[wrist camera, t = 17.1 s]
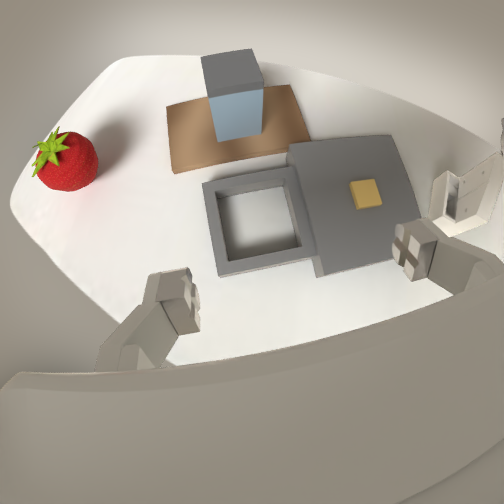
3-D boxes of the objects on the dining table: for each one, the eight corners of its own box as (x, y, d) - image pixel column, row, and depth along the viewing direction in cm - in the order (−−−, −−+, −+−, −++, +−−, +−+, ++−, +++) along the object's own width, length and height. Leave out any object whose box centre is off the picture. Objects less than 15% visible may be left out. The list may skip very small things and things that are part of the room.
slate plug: (252, 102, 28) (251, 48, 20) (261, 134, 27) (263, 80, 19) (211, 109, 27) (200, 57, 20) (217, 142, 27) (206, 90, 19)
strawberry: (104, 213, 27) (48, 177, 17) (58, 198, 27) (3, 165, 17) (126, 162, 28) (82, 111, 18) (78, 153, 28) (32, 110, 18)
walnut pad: (288, 90, 29) (289, 84, 28) (310, 148, 28) (311, 143, 27) (168, 111, 29) (166, 106, 28) (174, 174, 27) (171, 170, 26)
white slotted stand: (468, 157, 25) (508, 161, 17) (440, 230, 29) (474, 254, 21) (446, 143, 26) (484, 141, 17) (417, 218, 29) (448, 239, 21)
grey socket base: (380, 148, 28) (393, 131, 24) (414, 253, 26) (433, 247, 22) (202, 175, 27) (195, 158, 24) (224, 297, 25) (220, 297, 22)
